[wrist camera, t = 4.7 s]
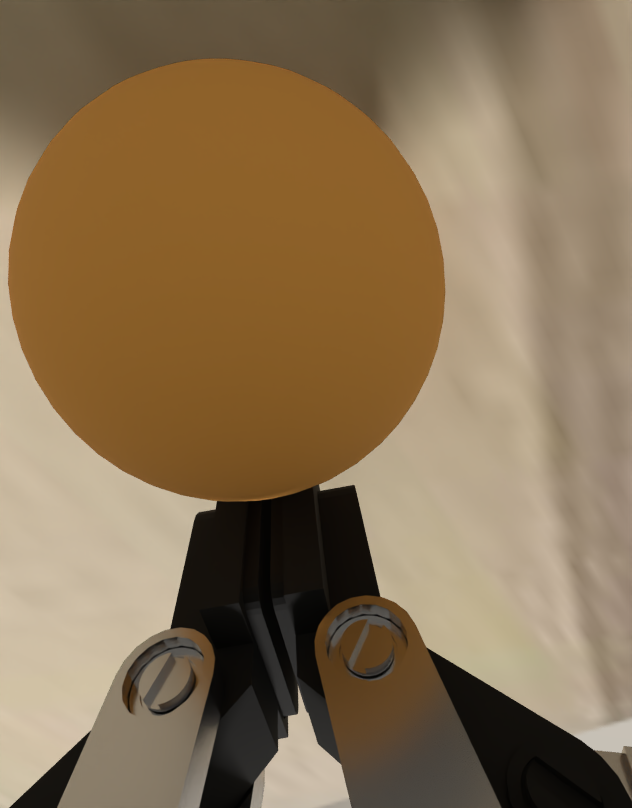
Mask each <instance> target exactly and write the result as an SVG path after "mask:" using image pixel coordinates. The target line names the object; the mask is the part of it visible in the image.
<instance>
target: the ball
mask: <svg viewBox="0 0 632 808" xmlns="http://www.w3.org/2000/svg"><path fill="white" fill-rule="evenodd" d="M8 286H9V293H10V301H11V308H12V316H13V320H14V323H15V327H16V330H17V334H18V337H19V341H20V344H21V348H22V351H23V353H24V355H25V357H26V359H27V362H28V364H29V366H30V368H31V370H32V373H33V375H34V377H35V379H36V381H37V383H38V384H39V386H40V387H41V389H42V391H43V392H44V394H45V395H46V397H47V398H48V400H49V402H50V403H51V405H52V406H53V408H54V409H55V410H56V412H57V413H58V414H59V415H60V416H61V417H62V419H63V420H64V421H65V422H66V423H67V425H68V426H69V427H70V428H71V429H72V430H73V432H74V433H75V434H76V435H77V436H79V437H80V438H81V439H82V440H83V441H84V442H85V443H86V444H87V445H89V446H90V447H91V448H92V449H93V450H94V451H95V452H96V453H97V454H99V455H100V456H102V457H103V458H105V459H106V460H108V461H109V462H111V463H112V464H113V465H115V466H116V467H118V468H119V469H121V470H122V471H124V472H126V473H128V474H130V475H132V476H134V477H136V478H138V479H140V480H142V481H144V482H146V483H148V484H151V485H153V486H156V487H159V488H162V489H165V490H168V491H171V492H174V493H177V494H180V495H184V496H189V497H195V498H201V499H207V500H213V501H258V500H266V499H272V498H278V497H282V496H286V495H290V494H294V493H297V492H300V491H303V490H305V489H308V488H311V487H313V486H316V485H319V484H321V483H323V482H326V481H328V480H330V479H332V478H333V477H335V476H337V475H338V474H340V473H342V472H343V471H345V470H347V469H348V468H350V467H352V466H353V465H355V464H357V463H358V462H359V461H360V460H362V459H363V458H364V457H365V456H366V455H368V454H369V453H370V452H371V451H372V450H374V449H375V448H376V447H377V446H378V445H380V444H381V443H382V442H383V441H384V439H385V438H386V437H387V436H388V435H389V434H390V433H391V432H392V431H393V430H394V429H395V427H396V426H397V425H398V424H399V423H400V421H401V420H402V418H403V417H404V415H405V414H406V413H407V411H408V410H409V408H410V407H411V405H412V404H413V402H414V401H415V399H416V397H417V395H418V393H419V391H420V389H421V387H422V385H423V383H424V381H425V379H426V377H427V376H428V373H429V370H430V367H431V365H432V362H433V359H434V356H435V353H436V350H437V347H438V342H439V338H440V333H441V328H442V323H443V315H444V302H445V279H444V262H443V255H442V250H441V245H440V239H439V234H438V229H437V226H436V223H435V220H434V217H433V214H432V211H431V208H430V205H429V202H428V200H427V198H426V196H425V194H424V192H423V190H422V188H421V186H420V184H419V182H418V180H417V178H416V176H415V174H414V172H413V171H412V169H411V168H410V166H409V165H408V164H407V162H406V161H405V159H404V158H403V156H402V155H401V154H400V152H399V151H398V149H397V148H396V147H395V145H394V144H393V142H392V141H391V140H390V139H389V138H388V136H387V135H386V134H385V133H384V132H383V131H382V130H381V129H380V128H379V127H378V126H377V125H376V124H375V123H374V122H373V121H372V120H371V119H370V118H369V117H368V116H367V115H365V114H364V113H363V112H362V111H361V110H360V109H358V108H357V107H355V106H354V105H353V104H351V103H350V102H349V101H347V100H346V99H345V98H343V97H342V96H340V95H339V94H338V93H336V92H334V91H332V90H331V89H329V88H327V87H326V86H324V85H322V84H319V83H317V82H315V81H313V80H311V79H309V78H307V77H305V76H302V75H300V74H297V73H295V72H293V71H290V70H287V69H284V68H280V67H277V66H273V65H268V64H263V63H257V62H251V61H245V60H237V59H197V60H189V61H183V62H177V63H173V64H169V65H165V66H161V67H158V68H155V69H152V70H149V71H146V72H143V73H141V74H138V75H135V76H133V77H130V78H128V79H126V80H124V81H122V82H120V83H118V84H116V85H114V86H113V87H111V88H110V89H108V90H107V91H105V92H104V93H103V94H101V95H100V96H98V97H97V98H96V99H94V100H93V101H91V102H90V103H89V104H87V105H86V106H84V107H83V108H82V109H80V110H79V111H78V112H77V113H76V114H75V115H74V116H73V117H72V118H71V119H70V120H69V121H68V122H67V124H66V125H65V126H64V127H63V128H62V129H61V130H60V131H59V133H58V134H57V135H56V136H55V137H54V138H53V139H52V140H51V142H50V143H49V145H48V147H47V148H46V150H45V151H44V153H43V154H42V156H41V158H40V160H39V161H38V163H37V165H36V166H35V168H34V170H33V171H32V173H31V175H30V177H29V178H28V181H27V183H26V186H25V189H24V192H23V194H22V197H21V200H20V202H19V205H18V208H17V212H16V216H15V221H14V226H13V232H12V237H11V242H10V248H9V271H8Z"/></svg>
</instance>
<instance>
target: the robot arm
mask: <svg viewBox="0 0 632 808" xmlns="http://www.w3.org/2000/svg"><path fill="white" fill-rule="evenodd" d="M298 686H299V690H300V693H301V696H302V699H303V702H304V705H305V709H306V711H307V712H308V713H309V716H310V719H311V723H312V726H313V729H314V732H315V735H316V738H317V742H318V744H319V745H320V746H321V747H322V748H323V749H324V750H326V751H327V752H328V753H329V754H330V755H331V756H332V757H333V758H335V759H336V760H337V761H338V762H339V763H340V764H341V765H342V769H343V773H344V778H345V782H346V786H347V790H348V794H349V799H350V803H351V807H352V808H632V747H627V746H624V747H623V750H622V753H616V752H604V751H595V750H593V749H591V748H590V747H588V746H587V745H586V744H585V743H583V742H582V741H581V740H579V739H578V738H576V737H574V736H573V735H571V734H569V733H568V732H566V731H564V730H563V729H561V728H559V727H558V726H556V725H554V724H553V723H551V722H549V721H548V720H546V719H544V718H543V717H541V716H539V715H538V714H536V713H534V712H533V711H531V710H529V709H528V708H526V707H524V706H523V705H521V704H519V703H518V702H516V701H514V700H513V699H511V698H509V697H508V696H506V695H504V694H503V693H501V692H499V691H498V690H496V689H495V688H493V687H491V686H490V685H488V684H486V683H485V682H483V681H481V680H480V679H478V678H476V677H475V676H473V675H471V674H470V673H468V672H466V671H465V670H463V669H461V668H460V667H458V666H456V665H455V664H453V663H451V662H450V661H448V660H446V659H445V658H443V657H441V656H440V655H438V654H436V653H435V652H433V651H431V650H430V649H428V648H426V646H425V644H424V642H423V640H422V638H421V635H420V633H419V631H418V629H417V627H416V625H415V623H414V622H413V620H412V619H411V617H410V616H409V614H408V613H407V612H406V611H405V610H404V609H403V608H401V607H400V606H399V605H398V604H396V603H395V602H393V601H390V600H388V599H385V598H382V597H380V593H379V589H378V585H377V580H376V576H375V572H374V567H373V563H372V558H371V554H370V550H369V545H368V541H367V537H366V532H365V528H364V524H363V519H362V515H361V511H360V506H359V502H358V497H357V493H356V489H355V486H354V485H351V486H346V487H340V488H334V489H329V490H323V491H320V488H319V485H316V486H313V487H311V488H308V489H305V490H303V491H300V492H297V493H294V494H290V495H286V496H282V497H278V498H272V499H266V500H258V501H217V505H216V510H210V511H204V512H199V513H198V514H197V515H196V517H195V520H194V524H193V529H192V533H191V538H190V542H189V547H188V551H187V556H186V561H185V565H184V570H183V574H182V579H181V583H180V588H179V592H178V597H177V602H176V606H175V611H174V615H173V620H172V624H171V629H169V630H165V631H162V632H160V633H158V634H156V635H154V636H151V637H150V638H148V639H147V640H146V641H144V642H143V643H142V644H140V645H139V646H137V647H136V648H135V649H134V651H133V652H132V653H131V654H130V655H129V656H128V657H127V658H126V659H125V660H124V662H123V664H122V665H121V667H120V669H119V671H118V672H117V674H116V676H115V678H114V680H113V682H112V685H111V687H110V689H109V692H108V694H107V696H106V698H105V701H104V703H103V705H102V707H101V710H100V712H99V714H98V716H97V719H96V721H95V723H94V725H93V728H92V730H91V731H90V732H89V733H88V734H87V735H86V736H85V737H83V738H82V739H81V740H80V741H79V742H78V743H77V744H76V745H75V746H74V747H73V748H72V749H71V750H70V751H69V752H68V753H67V754H66V755H64V756H63V757H62V758H61V759H60V760H59V761H58V762H57V763H56V764H55V765H54V766H53V767H52V768H51V769H50V770H49V771H48V772H47V773H45V774H44V775H43V776H42V777H41V778H40V779H39V780H38V781H37V782H36V783H35V784H34V785H33V786H32V787H31V788H30V789H29V790H28V791H26V792H25V793H24V794H23V795H22V796H21V797H20V798H19V799H18V800H17V801H16V802H15V803H14V804H13V805H12V806H11V807H10V808H261V806H262V799H263V792H264V780H265V769H264V768H265V767H266V766H267V765H268V763H269V762H270V761H271V759H272V758H273V757H274V755H275V754H276V753H277V751H278V739H281V738H286V737H288V716H290V715H295V714H298Z"/></svg>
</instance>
